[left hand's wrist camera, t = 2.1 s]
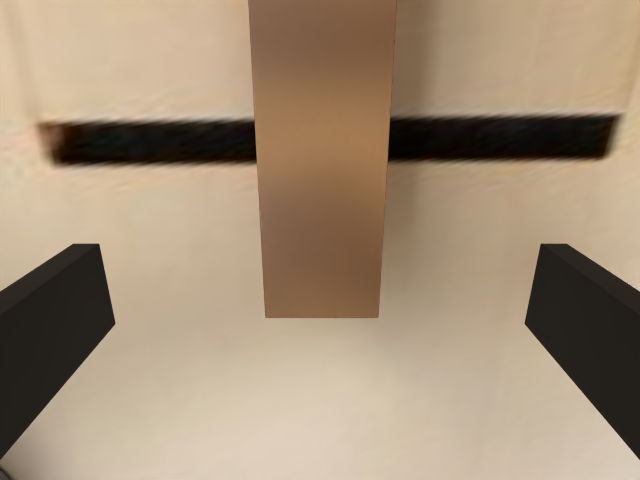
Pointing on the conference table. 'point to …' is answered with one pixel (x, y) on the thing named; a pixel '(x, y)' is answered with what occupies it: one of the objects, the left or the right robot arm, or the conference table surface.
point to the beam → (322, 151)
